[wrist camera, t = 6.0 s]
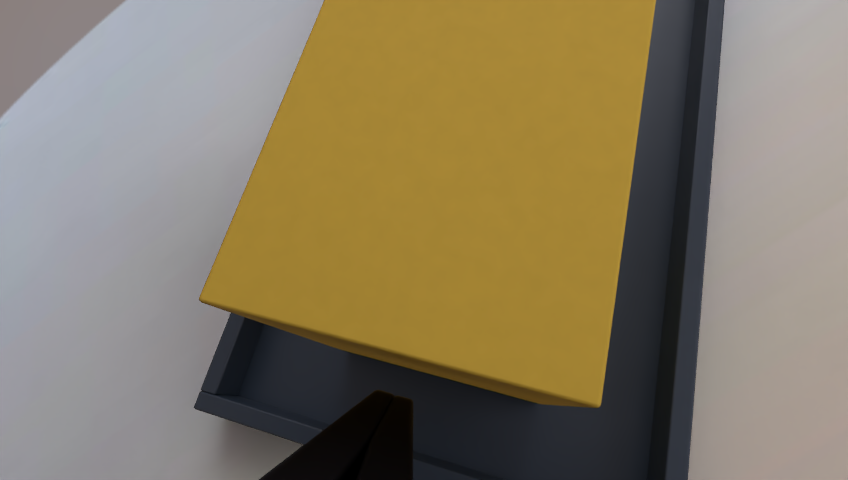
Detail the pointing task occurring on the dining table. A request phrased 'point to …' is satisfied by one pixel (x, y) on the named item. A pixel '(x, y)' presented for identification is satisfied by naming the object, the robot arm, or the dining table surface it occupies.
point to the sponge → (450, 190)
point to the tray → (630, 333)
